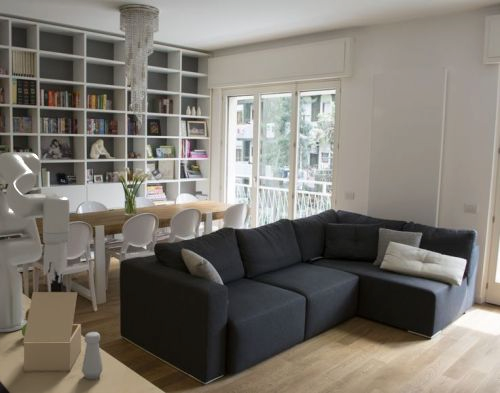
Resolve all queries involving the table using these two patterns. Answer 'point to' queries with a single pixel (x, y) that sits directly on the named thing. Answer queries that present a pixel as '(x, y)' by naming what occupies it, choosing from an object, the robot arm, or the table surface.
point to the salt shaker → (92, 356)
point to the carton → (53, 354)
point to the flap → (50, 317)
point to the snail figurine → (26, 323)
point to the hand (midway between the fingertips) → (56, 294)
